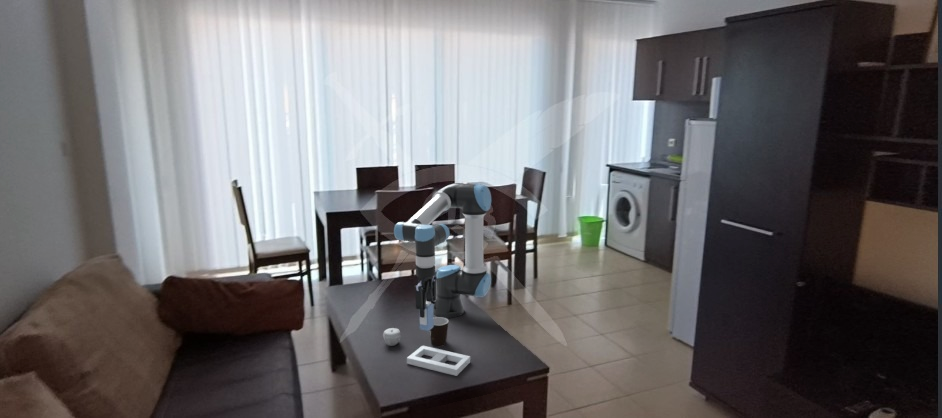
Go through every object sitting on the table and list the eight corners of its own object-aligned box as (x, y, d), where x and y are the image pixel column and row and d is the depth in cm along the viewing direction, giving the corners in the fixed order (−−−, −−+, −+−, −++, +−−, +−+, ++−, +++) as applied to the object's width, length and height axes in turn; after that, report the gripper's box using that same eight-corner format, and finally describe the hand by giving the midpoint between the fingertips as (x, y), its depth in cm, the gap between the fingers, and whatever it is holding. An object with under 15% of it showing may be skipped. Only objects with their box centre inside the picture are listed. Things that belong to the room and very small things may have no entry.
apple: (394, 338, 228) (394, 324, 226) (405, 344, 222) (405, 329, 221) (379, 344, 222) (378, 329, 221) (390, 350, 217) (389, 335, 215)
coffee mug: (445, 348, 218) (445, 326, 216) (426, 346, 220) (425, 324, 218) (452, 336, 229) (452, 315, 228) (433, 334, 231) (433, 313, 229)
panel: (422, 351, 216) (422, 345, 215) (470, 362, 207) (470, 356, 206) (407, 363, 205) (406, 357, 205) (456, 375, 196) (456, 369, 195)
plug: (424, 325, 208) (424, 299, 206) (433, 327, 207) (433, 301, 205) (419, 329, 205) (419, 303, 203) (428, 331, 203) (428, 305, 201)
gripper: (428, 258, 210) (429, 312, 214) (405, 270, 195) (406, 328, 199) (444, 260, 207) (445, 315, 211) (422, 273, 191) (423, 332, 196)
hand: (426, 321), depth 205 cm, fingers closed on plug, 4 cm apart
